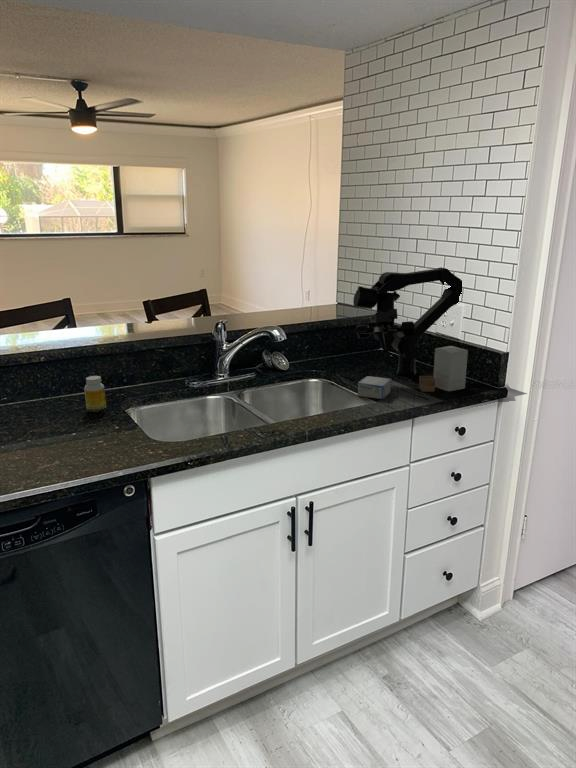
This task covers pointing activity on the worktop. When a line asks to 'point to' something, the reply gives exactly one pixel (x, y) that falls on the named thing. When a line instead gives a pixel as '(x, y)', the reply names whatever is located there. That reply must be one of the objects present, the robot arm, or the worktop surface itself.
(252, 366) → the worktop surface
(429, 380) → the walnut block
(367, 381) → the medicine box
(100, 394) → the supplement bottle
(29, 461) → the worktop surface
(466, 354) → the supplement box
